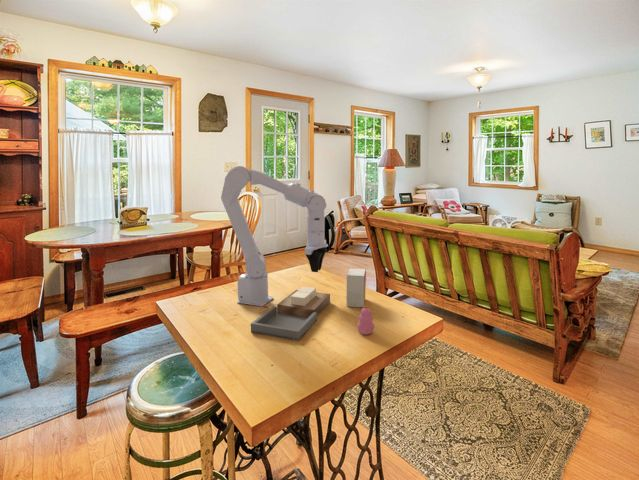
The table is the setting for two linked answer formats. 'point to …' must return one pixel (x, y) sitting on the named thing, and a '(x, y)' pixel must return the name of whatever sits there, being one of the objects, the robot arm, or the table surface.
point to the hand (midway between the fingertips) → (316, 270)
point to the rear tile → (309, 291)
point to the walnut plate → (304, 311)
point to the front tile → (300, 298)
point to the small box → (356, 287)
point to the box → (283, 324)
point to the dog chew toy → (365, 321)
